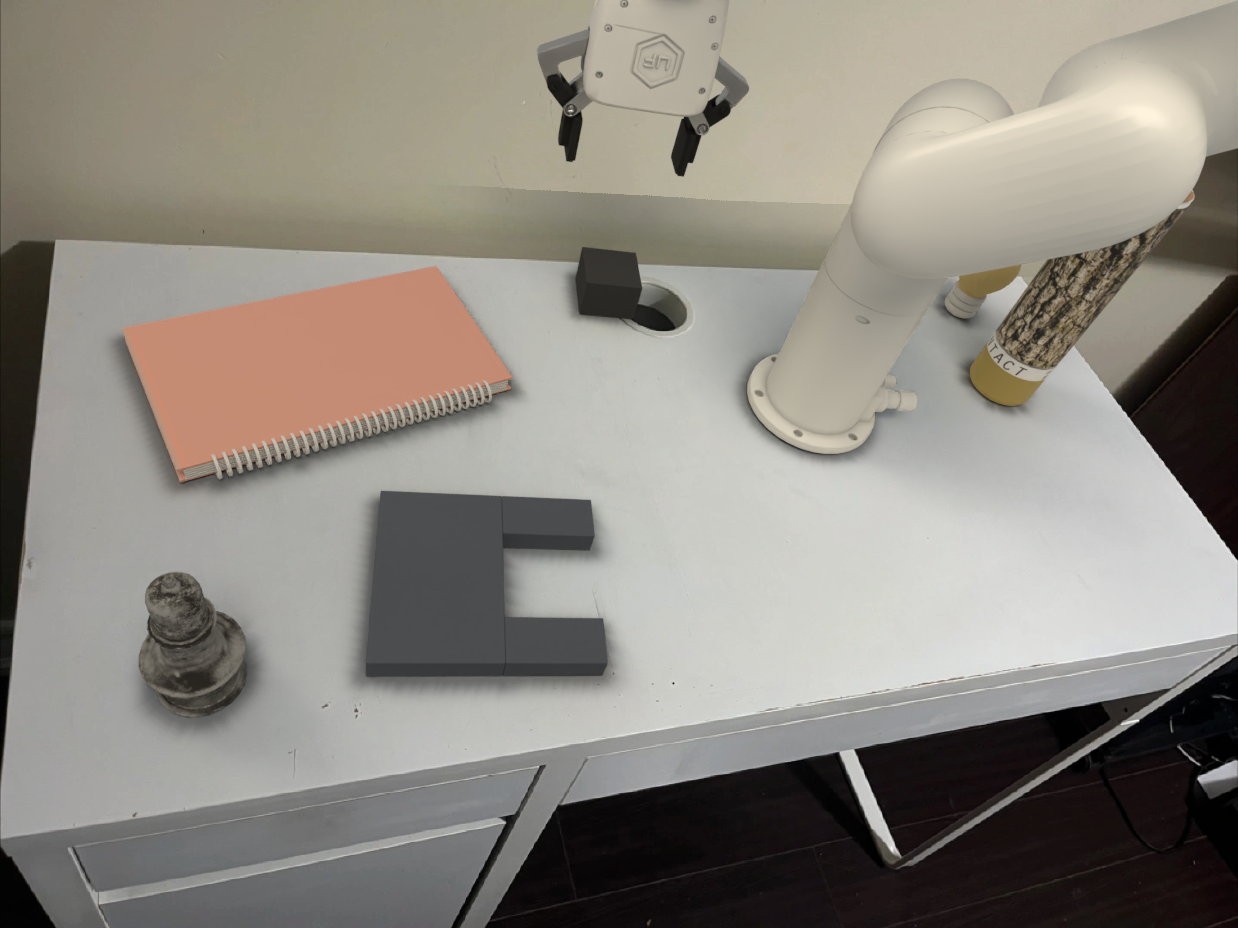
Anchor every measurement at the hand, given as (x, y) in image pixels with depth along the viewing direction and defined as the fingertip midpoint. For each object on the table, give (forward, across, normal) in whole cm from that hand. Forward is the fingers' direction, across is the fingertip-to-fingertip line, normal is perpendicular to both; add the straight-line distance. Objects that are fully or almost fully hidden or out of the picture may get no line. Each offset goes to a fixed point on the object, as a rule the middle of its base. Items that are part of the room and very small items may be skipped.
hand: (623, 160), depth 74 cm
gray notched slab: (+16, -11, -33) cm, 38 cm away
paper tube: (+16, +44, -8) cm, 47 cm away
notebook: (+16, -24, -12) cm, 31 cm away
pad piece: (+16, +2, +1) cm, 16 cm away
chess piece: (+16, -29, -40) cm, 52 cm away
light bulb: (+16, +44, +4) cm, 47 cm away
